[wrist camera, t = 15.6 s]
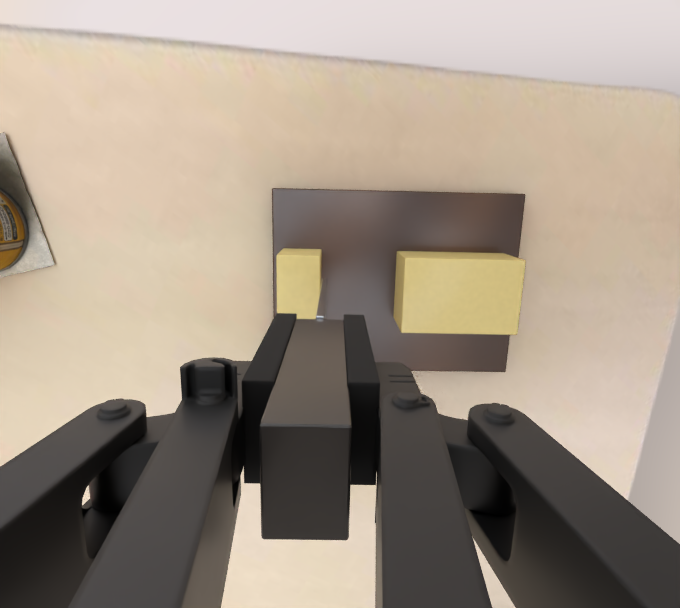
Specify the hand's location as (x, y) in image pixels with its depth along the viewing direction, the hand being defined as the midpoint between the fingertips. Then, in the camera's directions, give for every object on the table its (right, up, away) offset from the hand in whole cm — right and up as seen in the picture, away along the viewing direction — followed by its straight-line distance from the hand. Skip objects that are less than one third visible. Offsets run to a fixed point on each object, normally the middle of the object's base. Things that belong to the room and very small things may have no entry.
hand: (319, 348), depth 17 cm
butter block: (+8, +3, +13) cm, 15 cm away
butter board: (+4, +3, +14) cm, 15 cm away
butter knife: (0, +2, +7) cm, 8 cm away
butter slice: (-2, +3, +13) cm, 13 cm away
